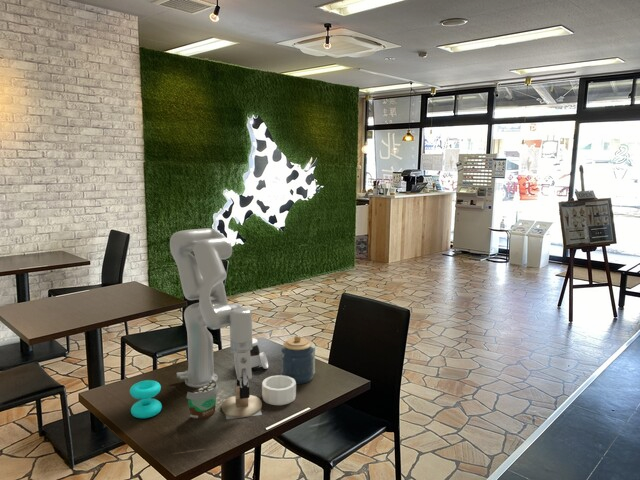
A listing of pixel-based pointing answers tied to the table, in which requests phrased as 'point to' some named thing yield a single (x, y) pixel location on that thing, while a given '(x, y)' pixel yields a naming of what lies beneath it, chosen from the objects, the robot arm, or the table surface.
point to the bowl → (278, 390)
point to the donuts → (145, 399)
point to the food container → (203, 401)
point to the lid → (241, 405)
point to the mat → (240, 417)
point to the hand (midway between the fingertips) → (243, 391)
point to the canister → (297, 359)
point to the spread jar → (257, 356)
